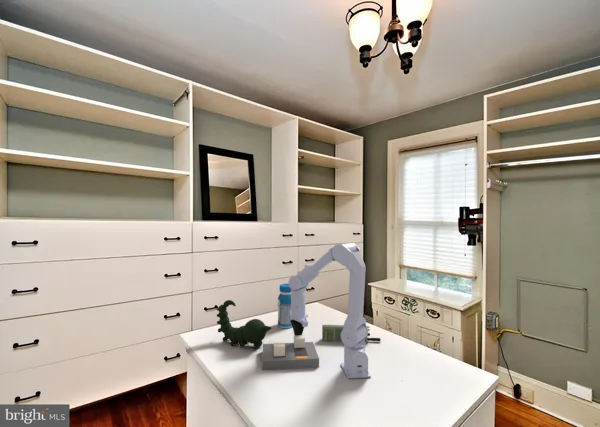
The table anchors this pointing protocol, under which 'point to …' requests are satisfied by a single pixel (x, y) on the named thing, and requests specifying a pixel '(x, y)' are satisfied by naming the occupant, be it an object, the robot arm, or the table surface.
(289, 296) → the beverage bottle
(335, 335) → the handheld radio
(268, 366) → the switch panel
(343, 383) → the table surface
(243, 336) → the toy figurine
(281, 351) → the tab
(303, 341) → the tab
